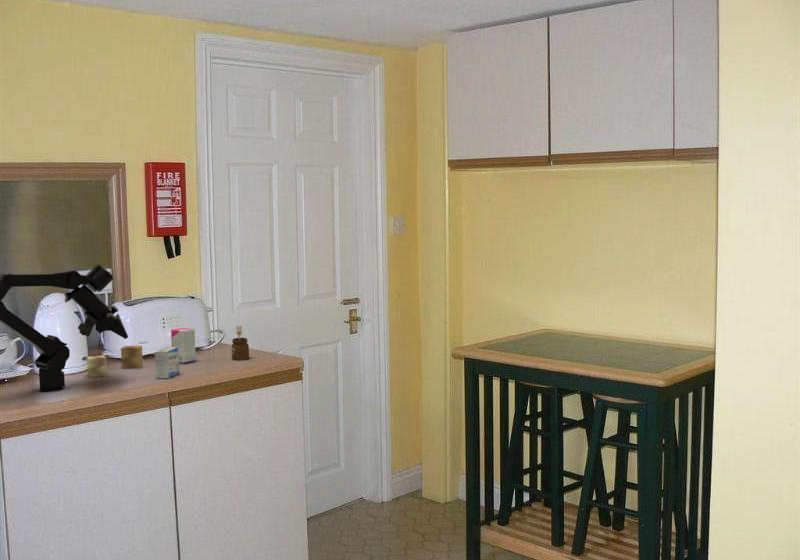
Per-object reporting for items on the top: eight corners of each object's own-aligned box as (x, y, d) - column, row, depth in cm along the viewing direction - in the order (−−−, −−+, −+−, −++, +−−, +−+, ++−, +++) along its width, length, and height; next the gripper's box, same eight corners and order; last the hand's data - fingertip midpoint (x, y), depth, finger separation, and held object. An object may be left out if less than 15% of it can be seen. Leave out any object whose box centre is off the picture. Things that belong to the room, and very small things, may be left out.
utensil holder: (249, 356, 304) (248, 323, 303) (248, 360, 298) (247, 325, 297) (232, 357, 303) (231, 323, 302) (231, 361, 297) (230, 326, 296)
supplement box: (196, 361, 297) (195, 328, 296) (183, 364, 292) (182, 330, 291) (184, 359, 301) (183, 327, 299) (171, 362, 296) (170, 329, 294)
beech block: (90, 378, 274) (89, 359, 273) (88, 375, 278) (87, 356, 277) (107, 376, 276) (106, 357, 276) (104, 373, 280) (103, 355, 280)
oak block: (121, 369, 287) (120, 348, 286) (124, 366, 291) (123, 346, 290) (140, 368, 287) (139, 347, 287) (143, 366, 291) (142, 345, 291)
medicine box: (168, 378, 270) (167, 351, 269) (155, 378, 271) (154, 351, 270) (179, 373, 278) (178, 347, 277) (167, 373, 279) (165, 346, 278)
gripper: (72, 315, 273) (109, 349, 277) (66, 326, 255) (105, 362, 259) (99, 290, 274) (135, 325, 278) (95, 300, 256) (133, 336, 261)
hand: (127, 337), depth 269 cm, fingers closed
